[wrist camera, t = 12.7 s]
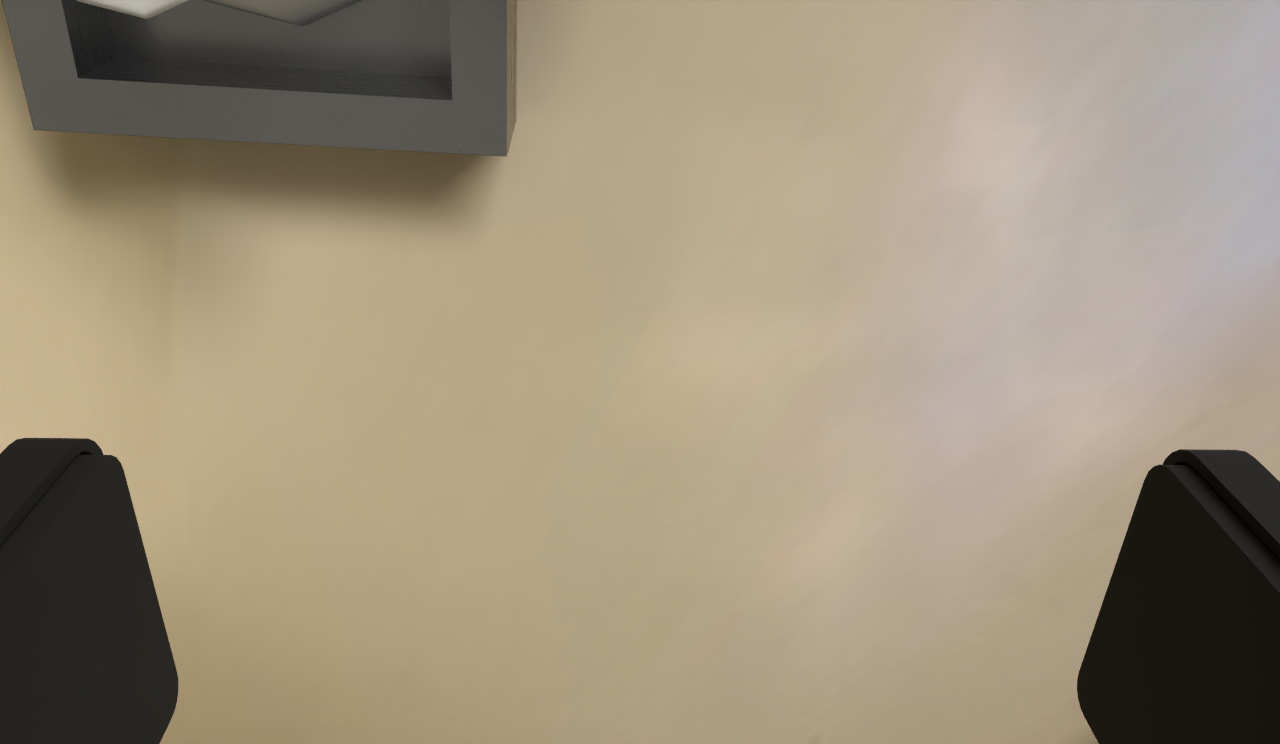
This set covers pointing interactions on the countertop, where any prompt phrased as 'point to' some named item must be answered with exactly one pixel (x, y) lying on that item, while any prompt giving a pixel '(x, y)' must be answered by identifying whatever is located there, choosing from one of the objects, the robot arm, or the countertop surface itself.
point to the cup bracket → (276, 73)
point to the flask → (287, 3)
